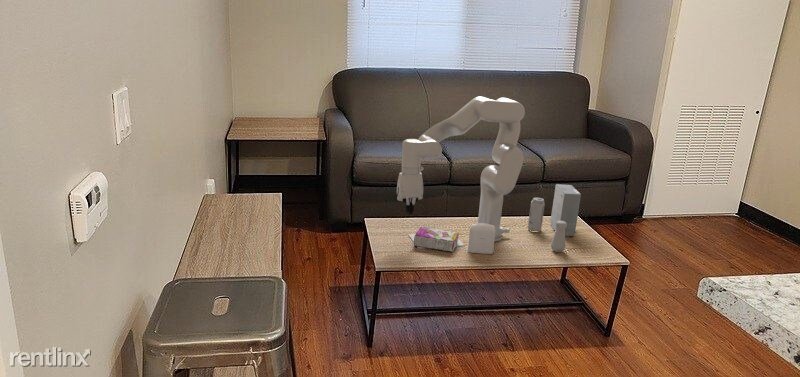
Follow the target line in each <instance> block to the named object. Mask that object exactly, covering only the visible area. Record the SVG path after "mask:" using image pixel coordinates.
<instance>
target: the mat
mask: <svg viewBox="0 0 800 377" xmlns="http://www.w3.org/2000/svg"><path fill="white" fill-rule="evenodd" d="M415 234H416V233H408V234H407V236H408V237H409V238H410V239H411V241H412V242H413V243H414V236H415ZM465 246H466V245H465V243H463V242H462V241H461V240H460V238H458V243H457V245H456V247H465ZM416 247H417V249H422V250H424V249H426V248H425V247H419V246H416Z"/></svg>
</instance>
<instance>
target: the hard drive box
mask: <svg viewBox="0 0 800 377" xmlns="http://www.w3.org/2000/svg"><path fill="white" fill-rule="evenodd" d="M554 187H555V188H554V194H553V195H554V196H553V202H552V208H551V214H550V215H551V216H550V221H549V222H550V223H551V225H552V226H553V228H554V229H553V228H552V229H553V231H554V230H555V231H556V229H557V227H556V222H557V221H565V222H566V223H567V227H566V228H565V237H569V236H574V237H575V234H576V228H577V222H578V216H579V210H580V203H581V199H582V198H581V197H582V194H581V193H580V192H579V191H578V190H577V189H576V188H575V187H574V186H573V185H572V184H560V183H556V184H555V186H554ZM551 225H550V226H551ZM552 226H551V227H552ZM555 231H554V232H555Z"/></svg>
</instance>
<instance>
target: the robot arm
mask: <svg viewBox="0 0 800 377" xmlns="http://www.w3.org/2000/svg"><path fill="white" fill-rule="evenodd" d="M525 112H526V110H525V107H524V105H523V104H522V103H520V102H518V101H517V100H513V99H510V98H507V97H499V98H497V99H496V100H495V99H491V98H488V97H485V96H476V97H474V98H472V99H471V100H469V102H467V103H466V104H465V105H464V106H462V107H461V108H460V109H459V110H458V111H456V112H455V113H454V114H453V115H451V116H450V117H449V118H445V119H444V120H442V121H440V122H437V123H436V124H433V126H431V127H430V128H428V129H427V130H425V132H423V133H422V134H421V135H420V136H419V137H418V138H407V139H404V140H403V141H402V147H401V172H399V174H398V178H397V184H396V185H397V186H396V195H397V198H396V200H397V201H399V202H404V204H405V212H406V213H407V215H413V212H414V211H415V204H416V203H417V202H418V201H420V200H422V199H424V197H423V195H424V181H423V173H422V171H423V170H424V169H425V167H424V166H421V163H422V162H421V161H422V159H426V160H432V159H433V160H434V159H435V160H436V159H437V158H439V157H440V156H441V154H442V152H443V148H442V147H443V146H442V144H440V143H441V142H442V141H443V140H445V139H448V138H451V137H454V136H456V137H457V136H461V135H464V134H466V133H467V132H468V131H469V130H470V129H472V128H473V127H474V126H475V125H476V124H478V123H479V122H480V121H481V120H482V121H485V122H490V123H499V130H498V134H497V136H496V139H495V143H494V146H493V147H492V151H491V158H492V160H493V161H494V162H496V164H498V165H494V164H490V165H487V166H485V167H484V168H483V169H482V172H481V174H480V200H479V209H478V215H477V216H478V217H477V218H478V219H477V223H487V224H491V225H493V226H494V227H495V241H494V243H495V242H496V243H497V242H499V241H502V240H503V234H507V233H510V228H508V227H507V228H506V227H504V226H501V219H502V212H503V211H502V209H503V203H504V196H507V195H508V194H510V193H511V192H512V191H513V190H514V188H515V186H516V184H517V181H518V179H519V175H520V173H521V170H522V167H523V164H524V154H523V151H522V150H521V149H520V148H519V147H517V144H518V141H519V137H520V134H521V120H523V119H524V117H525Z"/></svg>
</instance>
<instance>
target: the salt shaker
mask: <svg viewBox="0 0 800 377" xmlns="http://www.w3.org/2000/svg"><path fill="white" fill-rule="evenodd" d="M556 227H557V229H556V232H555V231H554V235H553V238H552V240H551V242H550V247H551V250H552V252H554V251H555V252H554V253H556V252H561V253H563V252H564V251H565V249H566V236H565V228H566V227H567V223H566V222H565V221H557V222H556ZM562 251H563V252H562Z"/></svg>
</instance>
